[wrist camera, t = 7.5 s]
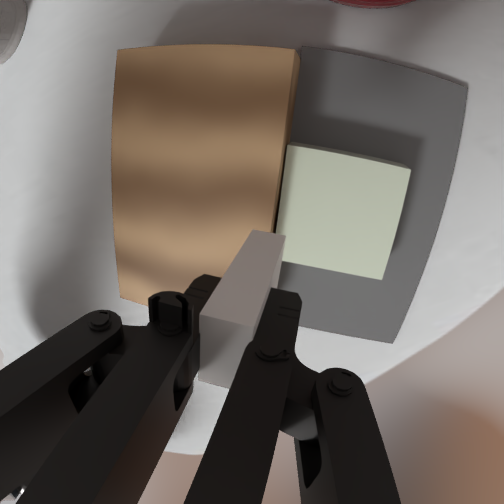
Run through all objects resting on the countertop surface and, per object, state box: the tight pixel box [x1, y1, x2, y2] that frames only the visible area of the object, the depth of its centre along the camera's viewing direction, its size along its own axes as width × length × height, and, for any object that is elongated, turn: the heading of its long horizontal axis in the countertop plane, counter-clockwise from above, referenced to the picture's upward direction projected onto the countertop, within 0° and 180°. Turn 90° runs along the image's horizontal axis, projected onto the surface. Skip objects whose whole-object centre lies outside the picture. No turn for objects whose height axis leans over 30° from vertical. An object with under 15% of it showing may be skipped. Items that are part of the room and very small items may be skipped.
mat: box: [277, 46, 468, 344], centre depth 22 cm, size 22×12×1 cm, turn 173°
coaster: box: [276, 142, 411, 280], centre depth 21 cm, size 8×8×2 cm
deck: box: [111, 44, 301, 306], centre depth 23 cm, size 20×12×4 cm, turn 173°
